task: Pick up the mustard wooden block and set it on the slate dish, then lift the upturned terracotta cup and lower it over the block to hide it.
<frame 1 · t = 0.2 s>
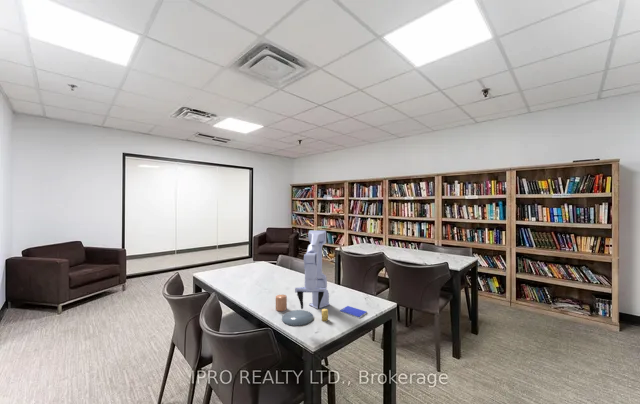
hand: (310, 308, 120), 10 cm above the table, tool pointing down, fingers open, 7 cm apart
hard drive: (353, 313, 139), on the table
block: (324, 320, 131), on the table
dish: (297, 318, 132), on the table
cup: (281, 308, 145), on the table
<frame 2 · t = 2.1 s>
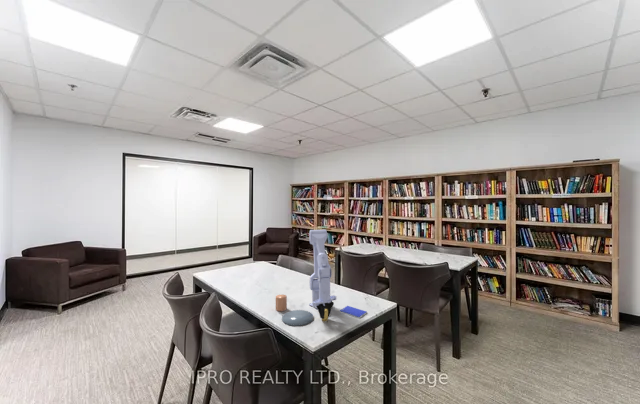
hand: (324, 317, 131), 1 cm above the table, tool pointing down, fingers closed on block, 3 cm apart
block: (324, 320, 131), on the table, touching gripper
everything else where it was.
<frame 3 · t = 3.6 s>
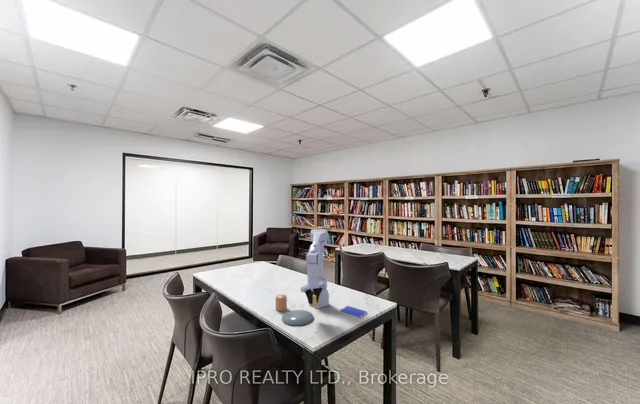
hand: (313, 302, 131), 8 cm above the table, tool pointing down, fingers closed on block, 3 cm apart
block: (313, 305, 131), point 7 cm above the table, touching gripper
everything else where it was.
when the fingers open (4 cm above the table, at t = 5.3 s): block drops 1 cm, resting on dish.
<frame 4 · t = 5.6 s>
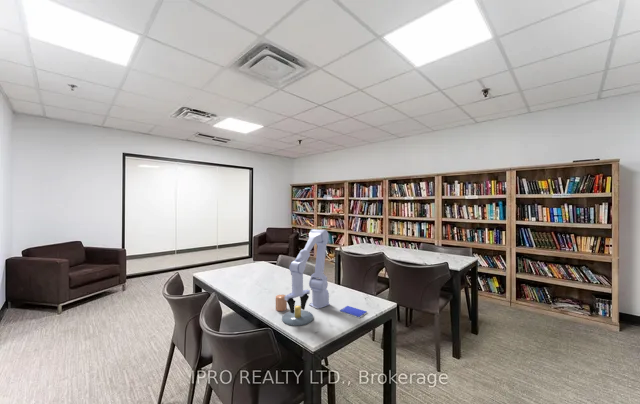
hand: (297, 310, 132), 4 cm above the table, tool pointing down, fingers open, 6 cm apart
block: (297, 316, 132), point 1 cm above the table, touching dish
everything else where it was.
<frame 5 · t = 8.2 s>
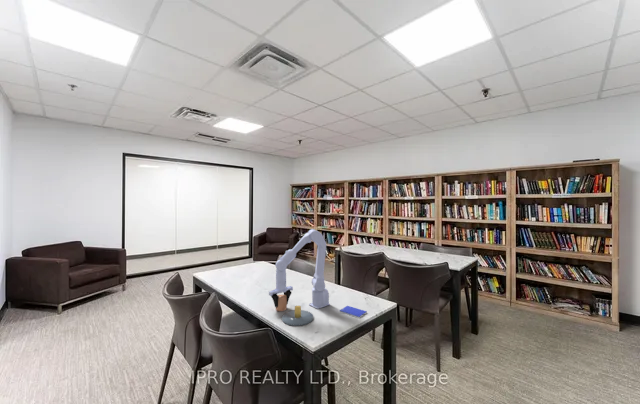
hand: (281, 305, 145), 2 cm above the table, tool pointing down, fingers closed on cup, 6 cm apart
cup: (281, 308, 145), on the table, touching gripper
everything else where it was.
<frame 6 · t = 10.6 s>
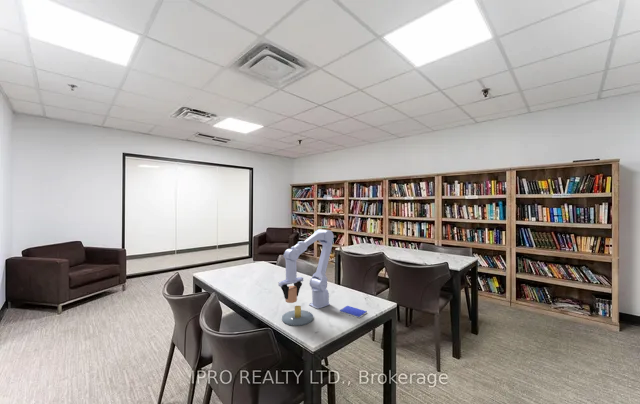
hand: (291, 297, 137), 9 cm above the table, tool pointing down, fingers closed on cup, 6 cm apart
cup: (291, 300, 137), point 7 cm above the table, touching gripper
everything else where it was.
when the fingers open (4 cm above the table, at t = 13.0 s): cup stays where it is, resting on dish.
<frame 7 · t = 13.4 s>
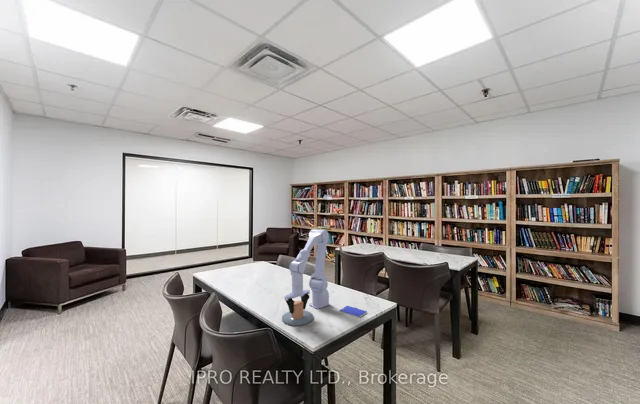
hand: (297, 310, 132), 4 cm above the table, tool pointing down, fingers open, 7 cm apart
cup: (297, 316, 132), point 1 cm above the table, touching dish
everything else where it was.
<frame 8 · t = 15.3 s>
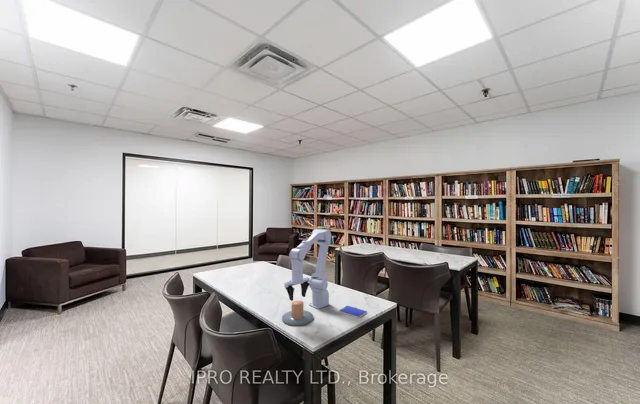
hand: (297, 298, 133), 10 cm above the table, tool pointing down, fingers open, 7 cm apart
nothing on the table moved.
at the end: block inside the target area on the dish (0.1 cm from its centre), point 1.0 cm above the dish's base; cup inside the target area on the dish (0.0 cm from its centre), point 1.0 cm above the dish's base; cup 0.1 cm from the block (horizontally) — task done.
